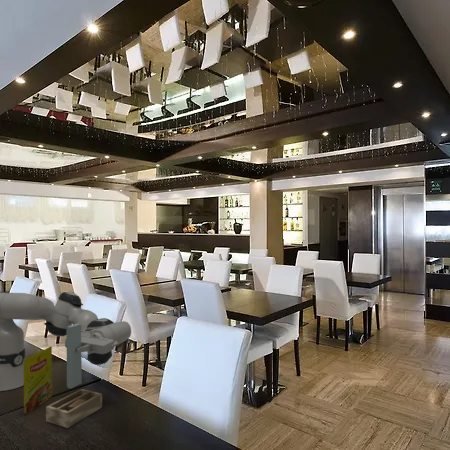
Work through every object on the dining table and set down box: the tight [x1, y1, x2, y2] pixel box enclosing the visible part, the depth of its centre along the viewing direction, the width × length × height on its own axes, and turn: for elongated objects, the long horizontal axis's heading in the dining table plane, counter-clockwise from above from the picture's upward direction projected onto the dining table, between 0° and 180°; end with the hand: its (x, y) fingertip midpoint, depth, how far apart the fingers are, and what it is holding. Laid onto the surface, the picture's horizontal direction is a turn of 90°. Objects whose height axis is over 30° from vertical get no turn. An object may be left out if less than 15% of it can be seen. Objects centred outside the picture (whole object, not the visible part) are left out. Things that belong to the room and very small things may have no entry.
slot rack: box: [45, 388, 103, 429], centre depth 136 cm, size 10×16×5 cm, turn 155°
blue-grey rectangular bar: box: [66, 324, 83, 389], centre depth 139 cm, size 2×5×22 cm, turn 155°
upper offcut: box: [68, 399, 86, 411], centre depth 134 cm, size 3×6×2 cm, turn 166°
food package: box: [23, 346, 53, 416], centre depth 143 cm, size 15×1×20 cm, turn 168°
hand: (73, 350), depth 138 cm, fingers closed on blue-grey rectangular bar, 2 cm apart
